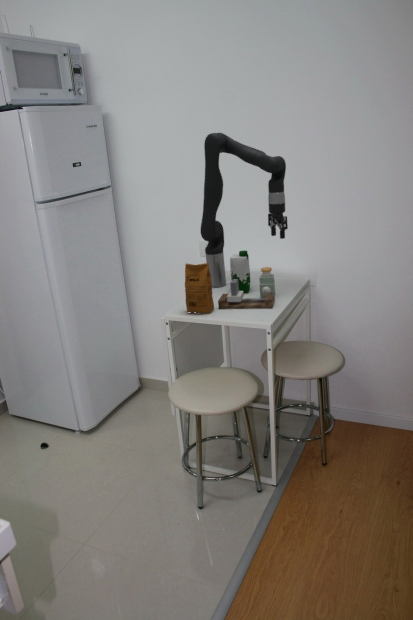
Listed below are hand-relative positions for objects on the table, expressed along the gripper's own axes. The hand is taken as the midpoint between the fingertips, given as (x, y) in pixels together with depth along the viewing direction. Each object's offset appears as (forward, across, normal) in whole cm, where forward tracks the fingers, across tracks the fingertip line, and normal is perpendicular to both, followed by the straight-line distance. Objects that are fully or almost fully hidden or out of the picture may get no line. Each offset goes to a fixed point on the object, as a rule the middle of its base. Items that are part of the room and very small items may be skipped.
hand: (278, 237), depth 234 cm
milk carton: (+26, -10, -16) cm, 32 cm away
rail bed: (+26, +10, -23) cm, 36 cm away
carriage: (+23, +8, -27) cm, 36 cm away
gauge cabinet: (+26, +5, -9) cm, 28 cm away
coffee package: (+27, +5, -43) cm, 51 cm away
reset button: (+17, +5, -9) cm, 20 cm away
